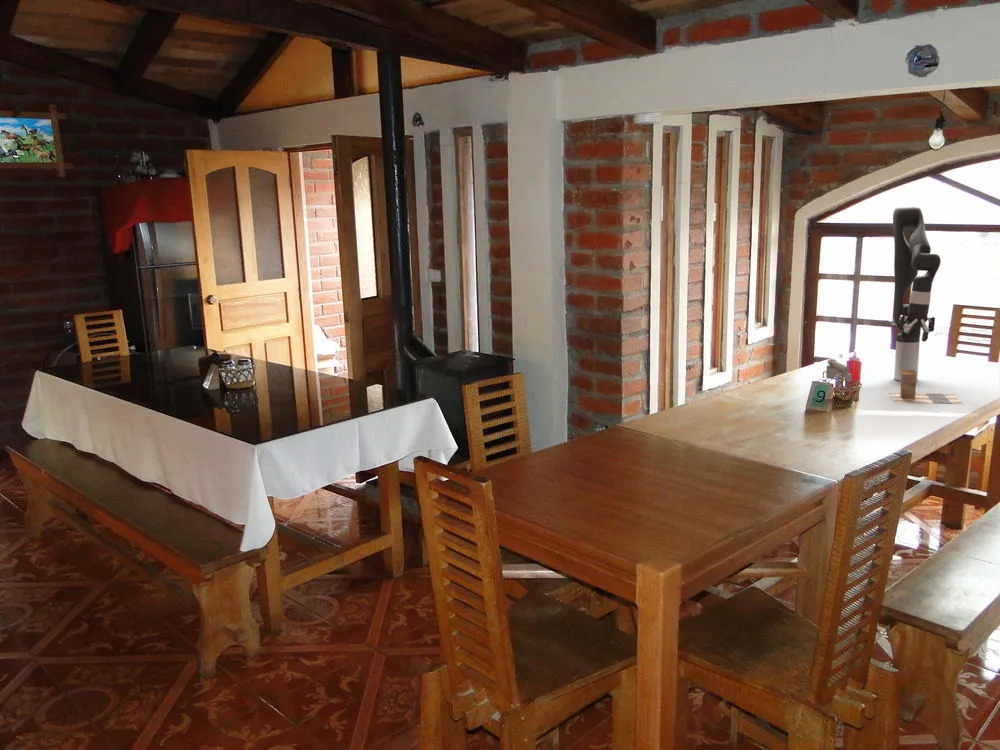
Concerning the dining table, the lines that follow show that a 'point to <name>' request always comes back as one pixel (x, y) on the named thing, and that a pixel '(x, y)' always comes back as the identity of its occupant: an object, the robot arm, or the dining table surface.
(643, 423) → the dining table surface
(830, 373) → the geiger counter
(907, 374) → the walnut block
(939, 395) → the subfloor panel
